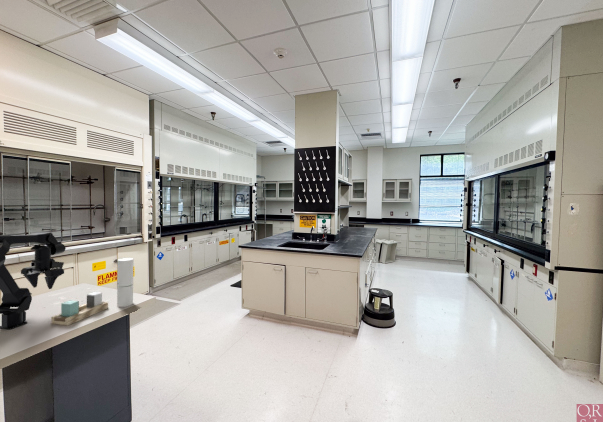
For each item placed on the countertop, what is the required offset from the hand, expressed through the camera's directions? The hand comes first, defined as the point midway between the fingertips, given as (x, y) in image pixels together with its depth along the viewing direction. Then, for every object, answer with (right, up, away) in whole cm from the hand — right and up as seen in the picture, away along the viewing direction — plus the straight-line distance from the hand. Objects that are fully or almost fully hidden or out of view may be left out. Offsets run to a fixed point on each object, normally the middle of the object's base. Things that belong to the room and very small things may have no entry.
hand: (42, 288), depth 127 cm
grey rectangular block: (+23, -11, +4) cm, 26 cm away
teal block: (+21, -11, -7) cm, 25 cm away
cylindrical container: (+33, -13, +12) cm, 37 cm away
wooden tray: (+21, -13, -2) cm, 25 cm away
